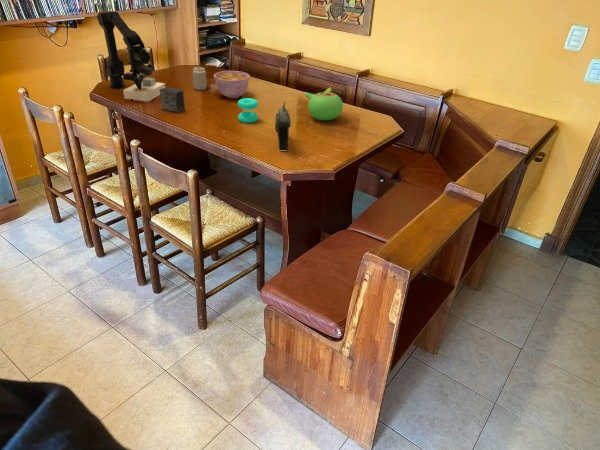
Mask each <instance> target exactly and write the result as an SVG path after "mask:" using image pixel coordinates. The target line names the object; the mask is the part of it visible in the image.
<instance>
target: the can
mask: <svg viewBox="0 0 600 450" xmlns="http://www.w3.org/2000/svg"><path fill="white" fill-rule="evenodd" d="M192 80H193V81H192V82H193V89H194V90H196V91H204V90H206V89H207V88H208V87H207V71H206V70H205V67H202V66H197V67H196V66H195V67H193V70H192Z"/></svg>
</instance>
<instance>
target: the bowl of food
mask: <svg viewBox="0 0 600 450" xmlns="http://www.w3.org/2000/svg"><path fill="white" fill-rule="evenodd" d="M250 76H251V75H250V74H249V73H247V72H244V71H239V70H224V71H218V72H215V73H214V74H213V78H214V81H215V86H216V89H217V91H218V92H219V94H221V95H222V96H224V97H226V98H229V99H237V98H240V97H241V96H243V95H244V94H246V92H247V90H248V85H249V81H250Z"/></svg>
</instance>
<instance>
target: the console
mask: <svg viewBox="0 0 600 450" xmlns="http://www.w3.org/2000/svg"><path fill="white" fill-rule="evenodd" d="M136 88H137V86H136V85H135V84H133V85H131V86H129V87H126V88H125V89H123V90H122V91H123V97H124V99H125V100H131V99H133V101H140V102H151V101H152V100H153V99H155V98H156V97H158V96H160V89H163V88H166V83H164V82H158V81H157V82H156V81H155V85H153V86H145V85H143V82H142V86H141V88H146V90H144V91H135V90H134V89H136Z"/></svg>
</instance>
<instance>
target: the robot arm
mask: <svg viewBox="0 0 600 450" xmlns="http://www.w3.org/2000/svg"><path fill="white" fill-rule="evenodd" d="M96 19H97V22H98V24H99V26H100V28H102V30H103V32H104V37H105V38H104V39H105V43H106V48H107V53H108V57H109V58H108V60H107V63H106V64H107V67H106V70H105V75H106V77H108V78H109V81H110V82H109V83H110V86H109V88H111V89H112V88H113V89H121V88H124V87H125V86H126V84H125V83H124V80H125V81H132V82H133V83H134V85H136V86H137V88H138V89H141V86H142V81H143V79H145V78H146V77H149V76H152V74H153V72H154V71H155V69H154V65H153V64H151V63H149V62H150V60H151V55H150V53H148V52H147V49H146V47H145V44H144V42H143V40H142V38H141V36H140V35H139V34H138V33H137V31H135V30H133V29H131V28H130V27H129V26H128V24H127V23H126V22H125V21H124V19H123V18H122V17H121V16H120V13H119V12H118V11H116V10H114V11H101V12H98V14H97V16H96ZM115 28H116V29H117V30H118V31H119V32H120V34H121V35H122V40H123V42H124V44H125V45H126V48H125V49H126V50H128V58H129V61H128V62H127V63H128V65H130V69H129V71H127V72H126V71H125V69H126V68H125V66H124V62H123V60H121V59H120V57H119V52H118V48H117V42H116V37H115V32H114V30H115ZM148 63H149V64H148Z"/></svg>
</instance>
